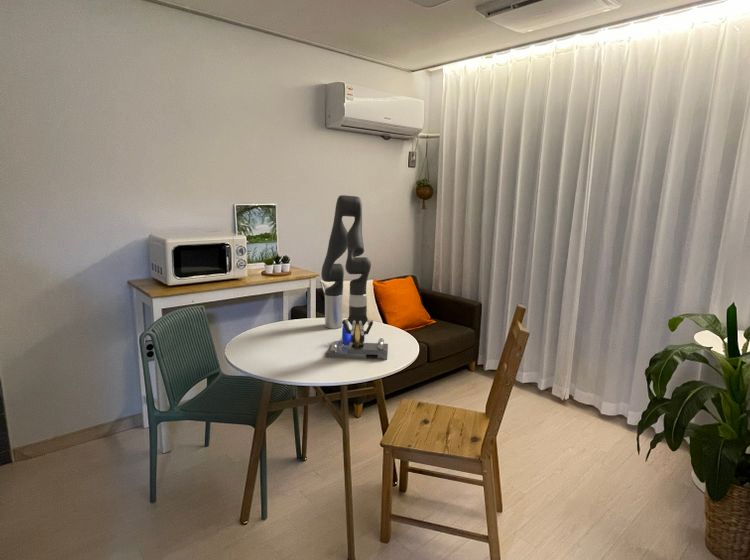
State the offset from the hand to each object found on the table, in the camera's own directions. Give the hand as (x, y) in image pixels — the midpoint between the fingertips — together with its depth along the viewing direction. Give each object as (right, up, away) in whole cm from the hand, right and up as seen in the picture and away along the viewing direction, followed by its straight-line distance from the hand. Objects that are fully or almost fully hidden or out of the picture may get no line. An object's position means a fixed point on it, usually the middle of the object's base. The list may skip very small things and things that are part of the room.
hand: (357, 342), depth 190 cm
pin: (0, -3, 0) cm, 3 cm away
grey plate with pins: (0, -5, +1) cm, 5 cm away
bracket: (-3, -2, +22) cm, 23 cm away
